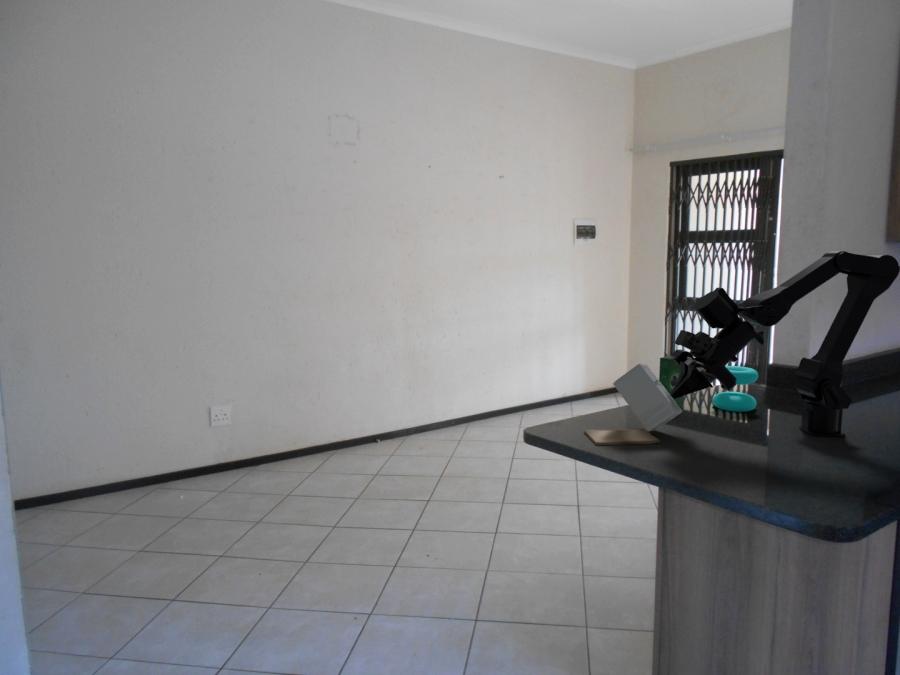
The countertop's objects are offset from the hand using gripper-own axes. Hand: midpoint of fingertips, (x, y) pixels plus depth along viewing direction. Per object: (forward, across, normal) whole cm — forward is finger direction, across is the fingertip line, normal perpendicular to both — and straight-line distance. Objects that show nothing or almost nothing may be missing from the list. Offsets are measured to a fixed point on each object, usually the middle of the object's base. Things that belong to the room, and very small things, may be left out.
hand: (672, 397), depth 126 cm
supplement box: (+4, -1, +4) cm, 6 cm away
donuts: (-12, -23, +24) cm, 36 cm away
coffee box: (-1, -24, +13) cm, 28 cm away
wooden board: (+14, 0, -1) cm, 14 cm away
